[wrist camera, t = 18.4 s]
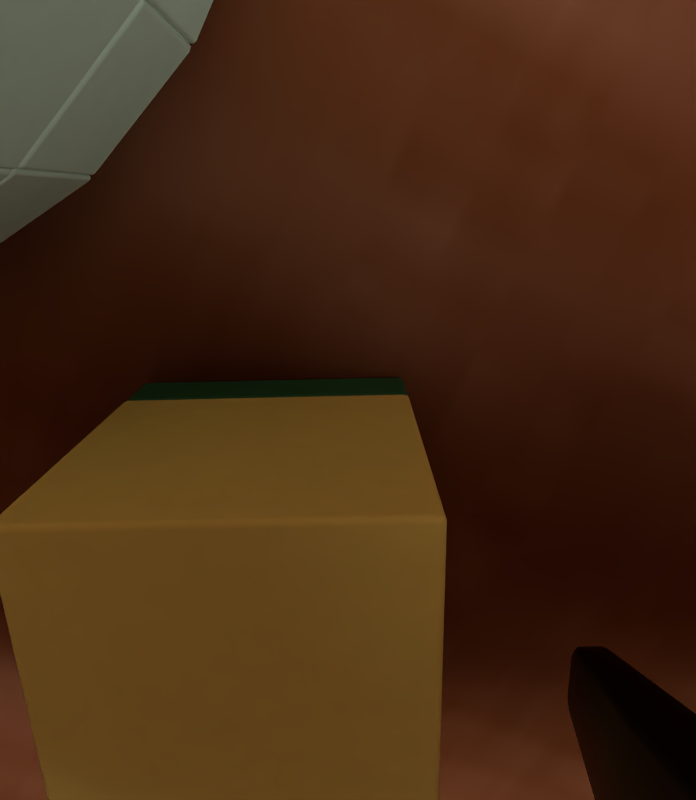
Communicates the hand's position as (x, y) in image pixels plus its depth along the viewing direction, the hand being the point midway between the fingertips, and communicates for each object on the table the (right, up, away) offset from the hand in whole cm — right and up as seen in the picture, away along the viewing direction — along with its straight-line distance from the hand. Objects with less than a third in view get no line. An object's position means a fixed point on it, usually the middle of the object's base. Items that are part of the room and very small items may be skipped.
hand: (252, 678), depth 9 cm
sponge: (0, +1, +3) cm, 3 cm away
